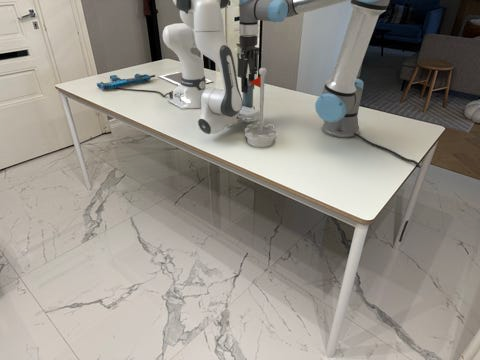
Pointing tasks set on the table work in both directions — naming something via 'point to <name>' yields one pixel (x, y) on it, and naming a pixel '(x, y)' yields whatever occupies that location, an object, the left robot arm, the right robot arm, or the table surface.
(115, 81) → the submachine gun
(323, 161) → the table surface
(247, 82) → the lid
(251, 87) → the jar
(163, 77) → the tablet
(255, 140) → the flag stand
